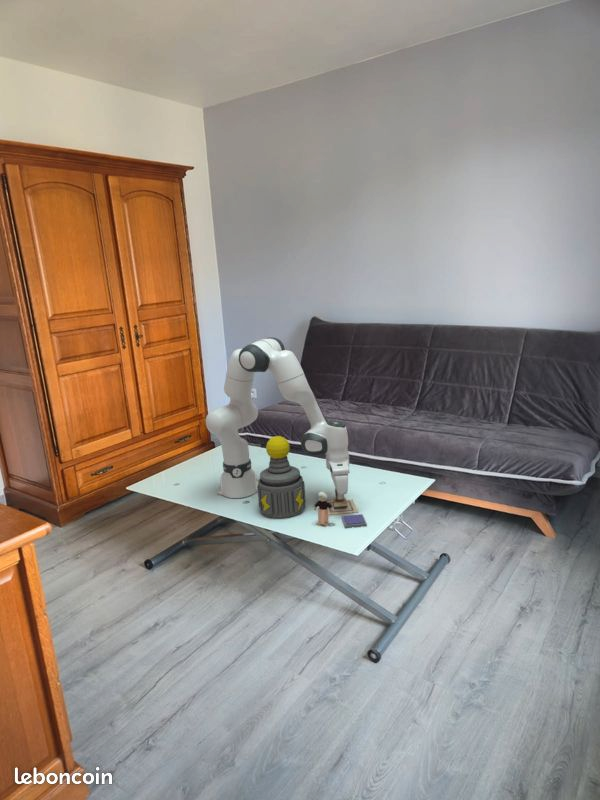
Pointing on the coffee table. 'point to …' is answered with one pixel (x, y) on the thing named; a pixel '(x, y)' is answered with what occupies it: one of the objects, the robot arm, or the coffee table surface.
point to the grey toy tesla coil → (280, 483)
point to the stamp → (339, 501)
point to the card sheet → (350, 508)
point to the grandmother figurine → (323, 509)
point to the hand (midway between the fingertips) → (339, 496)
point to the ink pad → (354, 521)
